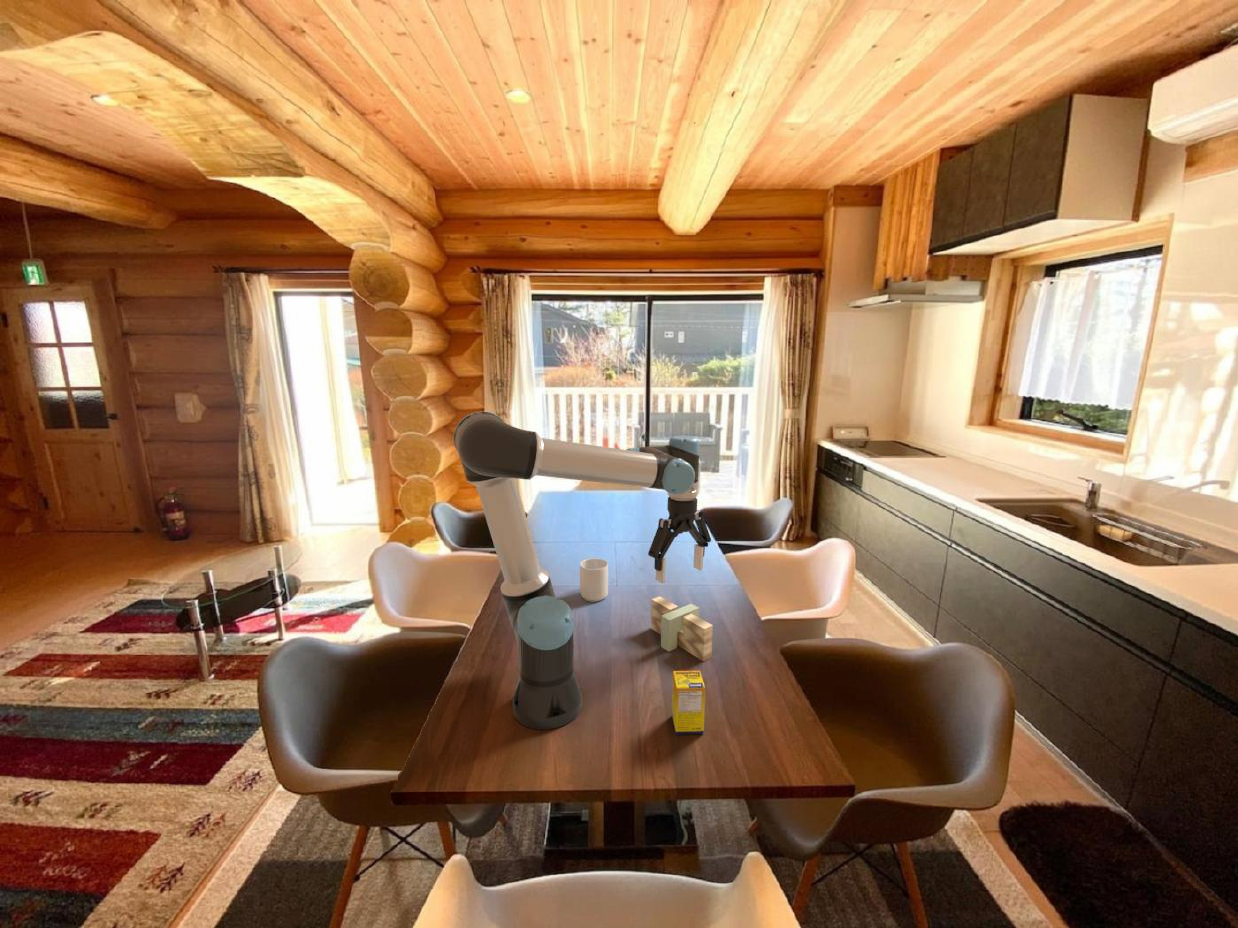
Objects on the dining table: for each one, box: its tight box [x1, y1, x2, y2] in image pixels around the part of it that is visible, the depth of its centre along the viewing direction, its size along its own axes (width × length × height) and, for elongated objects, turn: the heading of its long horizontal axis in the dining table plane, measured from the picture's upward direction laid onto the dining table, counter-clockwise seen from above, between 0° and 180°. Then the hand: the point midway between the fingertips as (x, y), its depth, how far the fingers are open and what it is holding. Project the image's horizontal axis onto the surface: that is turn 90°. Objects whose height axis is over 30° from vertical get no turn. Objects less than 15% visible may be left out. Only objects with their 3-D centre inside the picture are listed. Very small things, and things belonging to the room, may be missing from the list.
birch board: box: [650, 595, 714, 662], centre depth 139 cm, size 20×3×9 cm, turn 38°
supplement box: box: [671, 670, 706, 736], centre depth 107 cm, size 6×6×11 cm
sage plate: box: [660, 603, 700, 652], centre depth 139 cm, size 11×3×9 cm, turn 128°
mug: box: [579, 558, 609, 603], centre depth 166 cm, size 12×9×11 cm
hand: (679, 574), depth 136 cm, fingers open, 13 cm apart
